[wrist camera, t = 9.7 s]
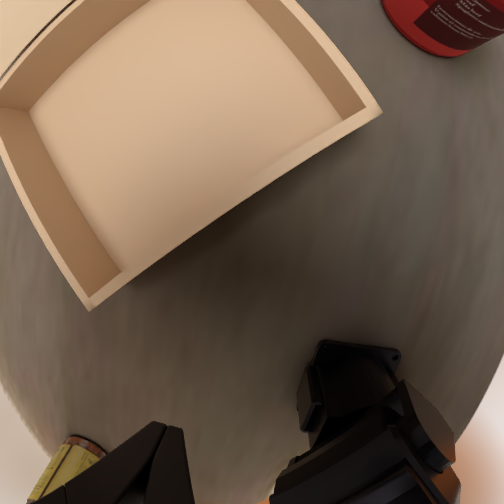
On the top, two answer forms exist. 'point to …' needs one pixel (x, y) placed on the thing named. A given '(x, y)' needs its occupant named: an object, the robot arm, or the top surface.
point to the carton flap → (23, 25)
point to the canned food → (447, 23)
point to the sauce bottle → (66, 465)
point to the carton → (164, 123)
